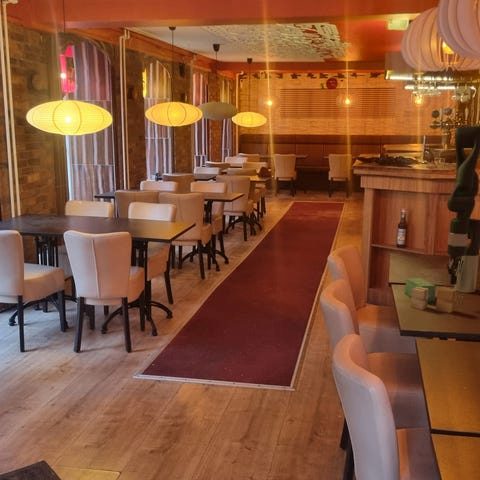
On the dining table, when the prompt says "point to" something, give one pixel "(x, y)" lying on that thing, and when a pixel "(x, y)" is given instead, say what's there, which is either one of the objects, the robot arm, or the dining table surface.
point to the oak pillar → (446, 300)
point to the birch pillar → (419, 298)
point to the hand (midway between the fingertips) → (453, 284)
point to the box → (422, 283)
